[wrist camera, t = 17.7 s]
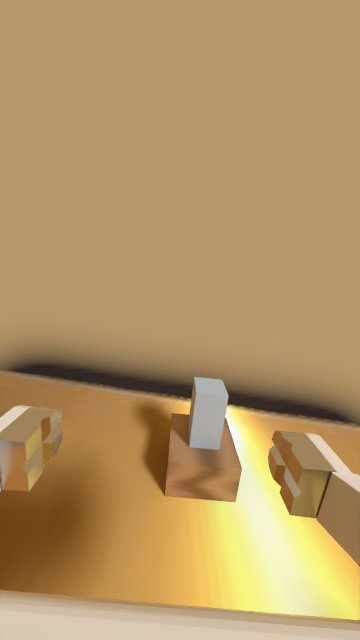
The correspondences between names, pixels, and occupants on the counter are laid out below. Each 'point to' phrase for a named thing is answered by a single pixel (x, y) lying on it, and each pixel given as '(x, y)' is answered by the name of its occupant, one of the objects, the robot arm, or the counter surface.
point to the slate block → (207, 413)
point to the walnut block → (201, 465)
